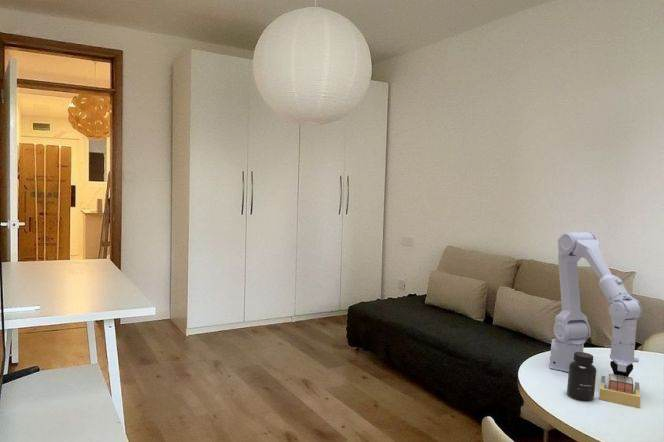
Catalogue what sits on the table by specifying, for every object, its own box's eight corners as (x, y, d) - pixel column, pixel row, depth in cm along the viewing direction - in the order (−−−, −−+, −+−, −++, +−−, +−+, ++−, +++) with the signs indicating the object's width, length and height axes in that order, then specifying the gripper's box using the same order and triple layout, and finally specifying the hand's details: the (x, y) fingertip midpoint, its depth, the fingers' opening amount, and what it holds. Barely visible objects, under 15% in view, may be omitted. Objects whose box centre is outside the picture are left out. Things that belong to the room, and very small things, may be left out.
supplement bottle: (583, 403, 133) (586, 360, 132) (561, 393, 139) (564, 352, 138) (599, 399, 136) (602, 356, 136) (577, 389, 142) (580, 349, 142)
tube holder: (599, 399, 136) (599, 388, 136) (601, 383, 147) (601, 373, 147) (639, 408, 131) (640, 397, 131) (638, 391, 142) (639, 381, 142)
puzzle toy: (631, 396, 138) (632, 377, 138) (632, 404, 133) (633, 384, 133) (607, 392, 141) (609, 372, 141) (607, 399, 136) (609, 379, 136)
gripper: (640, 351, 131) (636, 401, 132) (639, 337, 144) (635, 382, 145) (610, 346, 135) (606, 394, 136) (611, 333, 147) (608, 377, 148)
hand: (619, 388), depth 141 cm, fingers closed
